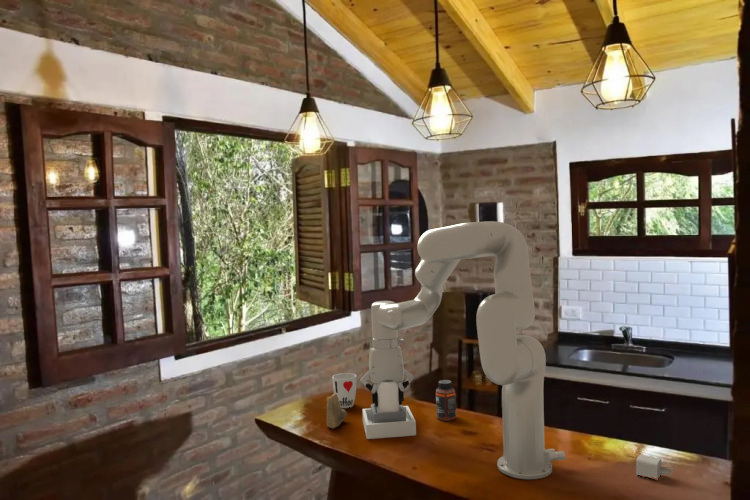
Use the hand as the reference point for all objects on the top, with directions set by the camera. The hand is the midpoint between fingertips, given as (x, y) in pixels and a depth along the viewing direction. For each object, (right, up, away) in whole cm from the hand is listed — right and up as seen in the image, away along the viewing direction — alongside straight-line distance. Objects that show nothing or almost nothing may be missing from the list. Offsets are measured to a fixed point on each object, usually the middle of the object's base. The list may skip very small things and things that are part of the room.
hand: (388, 404), depth 159 cm
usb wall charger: (+59, -6, -37) cm, 70 cm away
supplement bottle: (+18, -7, +7) cm, 20 cm away
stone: (-16, -8, +5) cm, 18 cm away
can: (0, -5, 0) cm, 5 cm away
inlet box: (0, -7, 0) cm, 7 cm away
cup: (-14, -7, +23) cm, 28 cm away
